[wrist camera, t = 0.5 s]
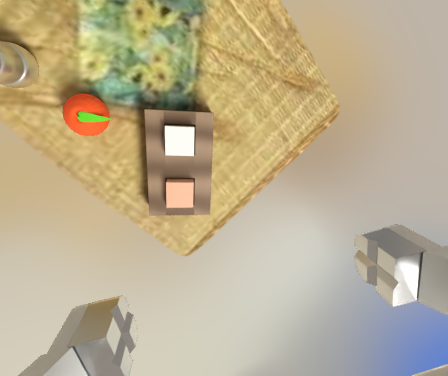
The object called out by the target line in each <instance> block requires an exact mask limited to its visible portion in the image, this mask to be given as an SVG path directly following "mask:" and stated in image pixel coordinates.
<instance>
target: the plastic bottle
mask: <svg viewBox="0 0 448 376" xmlns="http://www.w3.org/2000/svg"><path fill="white" fill-rule="evenodd" d="M38 75H39V66H38V63H37V61H36V59H35V58H34V57H33V55H32V54H31V53H30V52H29V51H27V50H26V49H24V48H23V47H21V46H19V45H17V44H14V43H11V42H3V41H0V84H2V85H5V86H9V87H13V88H21V87H27V86H30V85H31V84H33V83H34V82H35V81H36V80H37V78H38Z"/></svg>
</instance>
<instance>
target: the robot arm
mask: <svg viewBox="0 0 448 376" xmlns="http://www.w3.org/2000/svg"><path fill="white" fill-rule="evenodd" d="M355 247H356V248H357V249H358V252H357V253H356V255H355V266H356V268H357V271H358V273H359V274H360V276H361V277H362V278H363V279H364V280H365V281H366V282H367V283H369V284H372V285H375V286H376V290H377V293H378V294H380V295H381V296H382V297H383V298H384V299H385V300H386V301H387V302H388V303H389V304H390V305H391V306H392V307H394V306H398V305H402V304H406V303H410V302H414V301H418V302H420V303H421V304H423V305H426V306H428V307H430V308H432V309H434V310H437V311H439V312H441V313H443V314H445V315H447V316H448V246H444V247H442V246H440V245H438V244H436V243H434V242H432V241H430V240H428V239H427V238H425V237H423V236H421V235H419V234H417V233H415V232H413V231H412V230H410V229H408V228H406V227H404V226H402V225H398V224H395V225H391V226H388V227H385V228H382V229H379V230H375V231H371V232H367V233H364V234H360V235H357V236H356V238H355ZM128 307H129V303H128V301H127V299H126V297H125V296H118V297H114V298H109V299H105V300H101V301H97V302H92V303H88V304H85V305H80V306H76V307H75V308H73V309H72V311H71V312H70V314H69V316H68V317H67V319H66V321H65V323H64V325H63V326H62V328H61V330H60V332H59V333H58V335H57V337H56V338H55V340H54V342H53V344H52V345H51V347H50V349H49V351H48V353H47V354H45V355H41V356H40V357H39V358H38V359H37V360H35V361H34V362H33V363H32V364H31V365H30V366H29V367H28V368H26V369H25V370H24V371H23V372H22V373H21V374H20V375H19V376H129V375H130V370H131V365H132V361H133V360H132V358H131V355H130V353H131V351H132V350H133V349H134V348H135V346H136V341H137V325H136V321H135V318H134V315H133V314H131V313H129V312H127V310H128ZM411 376H448V364H446V365H443V366H440V367H437V368H434V369H430V370H427V371H424V372H421V373H418V374H415V375H411Z"/></svg>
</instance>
